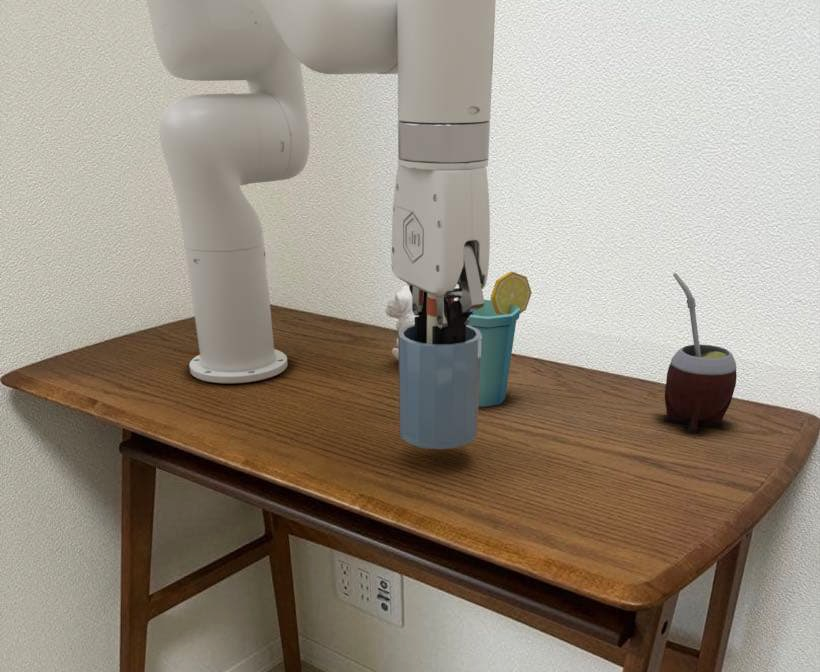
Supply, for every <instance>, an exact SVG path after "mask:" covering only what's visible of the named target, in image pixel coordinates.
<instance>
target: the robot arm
mask: <svg viewBox="0 0 820 672" xmlns="http://www.w3.org/2000/svg"><path fill="white" fill-rule="evenodd" d="M146 3H147V7H148V12H149V13H148V14H149V17H150V23H151V29H152V33H153V37H154V41H155V45H156V49H157V53H158V55H159V57H160V58H159V59H160V62H161V63H162V65H163V67H164V69H166V71H167V72H168V73H169V74H170V75H173V76H174V77H176V78H178V79H181V80H185V81H186V80H187V81H197V82H207V81H208V82H209V81H210V82H213V81H215V82H216V81H219V82H220V81H225V82H226V81H246V83H247V86H248V91H249V93H234V92H231V93H230V92H229V93H202V94H192V95H189V96H184V97H180V98H179V99H176V100H175V101H173V102H172V103H170V104H169V105H168V106H167V107H166V109H164V112H163V113H162V115H161V118H160V121H159V131H158V132H159V141H160V146H161V149H162V150H161V151H162V153H163V154H162V155H163V157H164V160H165V164H166V167H167V170H168V174H169V177H170V179H171V183H172V187H173V190H174V194H175V199H176V203H177V208H178V212H179V219H180V225H181V232H182V238H183V245H184V252H185V259H186V266H187V271H188V272H187V273H188V279H189V287H190V294H191V295H190V296H191V301H192V308H193V314H194V322H195V329H196V338H197V343H198V349H199V351H198V352H199V354H198V355H196V356H195V357H193V358H192V359H191V360H190V361H189V364H188V367H189V372H190V375H192V376H193V377H194V378H196V379H197V380H200V381H203V382H208V383H213V384H225V385H226V384H229V385H230V384H246V383H253V382H259V381H263V380H267V379H271V378H273V377H275V376H278V375H279V374H280V375H281V374H282V373H283V372H284V371H285V370H286V369H287V368H288V356H287V355H286V354H285V353H284V352H283V351H281V350H278V349H275V344H274V343H275V342H274V332H273V331H274V330H273V320H272V311H271V299H270V290H269V280H268V269H267V268H268V267H267V258H266V248H265V238H264V231H263V225H262V221H261V219H260V216H259V214H258V213H257V210H256V209H255V208H254V206H253V205H252V204H251V202H250V201H249V200H248V198H247V197H246V196H245V194H244V193H243V191H242V189H241V186H246V185H250V184H251V185H252V184H259V183H269V182H270V183H271V182H277V181H285V180H289V179H293V178H295V177H296V176H298V175H299V174H300V173H301V172H303V170H304V168H305V167H306V165H307V163H308V159H309V156H310V149H311V147H310V146H311V138H310V136H311V135H310V125H309V124H310V123H309V116H308V109H307V100H306V93H305V85H304V77H303V70H302V69H303V68H302V65H304V66H305V67H307V68H308V69H309V70H311V71H314V72H315V73H319V74H324V75H362V74H363V75H365V74H367V75H368V74H370V75H371V74H372V75H373V74H374V75H375V74H376V75H397V120H398V121H397V145H398V146H397V156H398V158H397V170H396V175H395V183H394V193H393V203H392V204H393V205H392V221H391V222H392V223H391V250H390V251H391V253H390V254H391V257H390V259H391V261H390V262H391V270H392V272H393V274H394V275H395V277H396V278H398V279H399V280H400V281H402V282H404V283H406V284H407V286H409V289H410V292H411V294H412V311H413V314H414V315H415V316H418V315H419V316H418V317H415V341H416V342H420V343H427V293H430V294H432V295H435V296H436V308H437V325H438V326H432V344H455V343H461V342H465V340H466V325H468V324H469V321H470V315H471V314H472V312H473V311H475V310H478V309H480V308H482V307H483V306H484V300H485V298H484V293H483V289H484V288H485V286H486V284H487V282H488V277H489V267H490V249H491V248H490V247H491V221H490V219H491V217H490V215H491V213H490V212H491V211H490V194H489V193H490V191H489V179H488V169H487V167H488V166H489V158H490V157H489V154H490V134H491V133H490V132H491V111H492V90H493V89H492V87H493V65H494V63H493V62H494V44H495V43H494V42H495V25H496V24H495V23H496V0H146ZM456 284H457V285H458V284H459V285H458V287H456V286H457V285H456ZM452 298H454V299H457V300H454V301H453V302H452V303H451V304H450V306H449V307H448V299H452Z"/></svg>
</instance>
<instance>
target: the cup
mask: <svg viewBox="0 0 820 672" xmlns="http://www.w3.org/2000/svg"><path fill="white" fill-rule="evenodd" d="M457 285H458V286H459V284H456V286H457ZM532 293H533V292H532V290H531V287H530V282H529V280H528V277H527V276H525V275H523V274H520V273H517V272H514V271H511V270H510V271H509V272H507V273H505V274H503V275H502V276H500V277H499V278H497V279H496V280H495V283H494V285H493V289H492V291H491V295H490V299H484V306H483V307H482V308H480V309H478V310H475V311H473V312H472V314H471V315H470V321H469V324H468V325H470V326H472V327H474V328H476V329H478V330H480V332H481V334H482V343H481V365H480V387H479V407H482V408H485V407H492V406H498V405H501V404H502V403H503V402H504V401H505V399H506V395H507V389H508V381H509V376H510V375H509V374H510V367H511V362H512V353H513V346H514V341H515V334H516V328H517V327H516V325H517V320H519V319H520V315H521V314H522V313H524V312H525V311H526V310H527V307H528V305H529V302H530V299H531V296H532Z"/></svg>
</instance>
